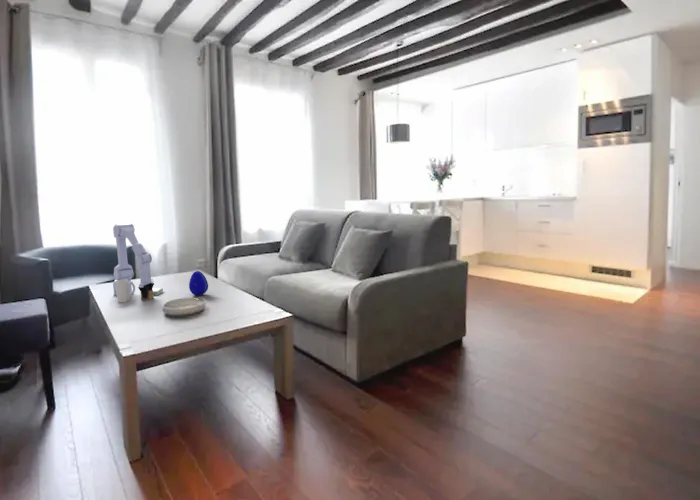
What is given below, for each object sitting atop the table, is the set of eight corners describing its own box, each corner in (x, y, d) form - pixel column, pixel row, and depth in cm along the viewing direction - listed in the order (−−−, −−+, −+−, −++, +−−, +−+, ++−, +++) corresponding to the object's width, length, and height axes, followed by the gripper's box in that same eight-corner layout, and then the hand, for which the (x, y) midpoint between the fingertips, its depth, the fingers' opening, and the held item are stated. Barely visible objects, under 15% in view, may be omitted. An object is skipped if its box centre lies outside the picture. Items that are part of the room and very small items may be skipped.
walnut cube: (141, 300, 249) (140, 292, 248) (144, 298, 254) (144, 289, 253) (150, 300, 249) (149, 291, 248) (153, 297, 254) (152, 289, 253)
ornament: (211, 294, 261) (209, 270, 259) (200, 297, 253) (198, 273, 250) (197, 292, 266) (195, 268, 263) (186, 296, 257) (184, 271, 255)
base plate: (142, 295, 259) (142, 291, 258) (148, 292, 268) (147, 288, 267) (157, 295, 259) (157, 291, 259) (163, 291, 268) (162, 287, 268)
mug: (116, 303, 243) (114, 282, 241) (116, 300, 249) (114, 280, 247) (136, 300, 248) (134, 280, 246) (135, 298, 254) (134, 278, 252)
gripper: (147, 276, 242) (149, 299, 244) (157, 271, 256) (158, 293, 258) (134, 276, 242) (136, 300, 244) (144, 271, 256) (146, 293, 258)
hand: (147, 296), depth 251 cm, fingers closed on walnut cube, 5 cm apart
